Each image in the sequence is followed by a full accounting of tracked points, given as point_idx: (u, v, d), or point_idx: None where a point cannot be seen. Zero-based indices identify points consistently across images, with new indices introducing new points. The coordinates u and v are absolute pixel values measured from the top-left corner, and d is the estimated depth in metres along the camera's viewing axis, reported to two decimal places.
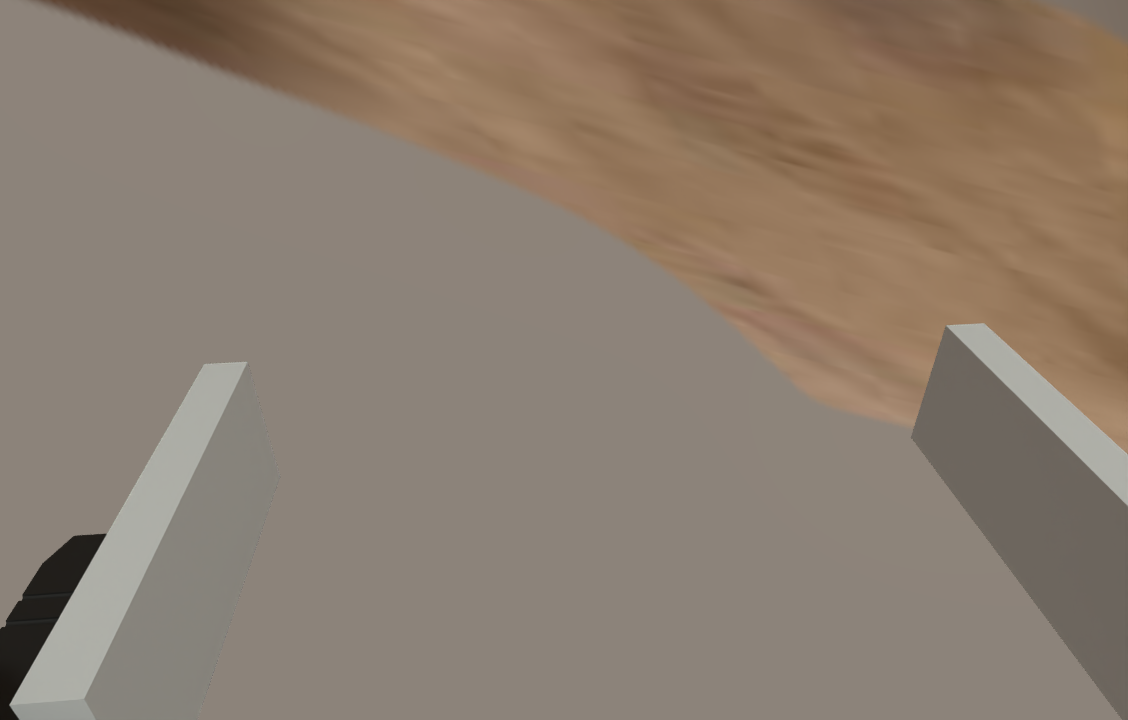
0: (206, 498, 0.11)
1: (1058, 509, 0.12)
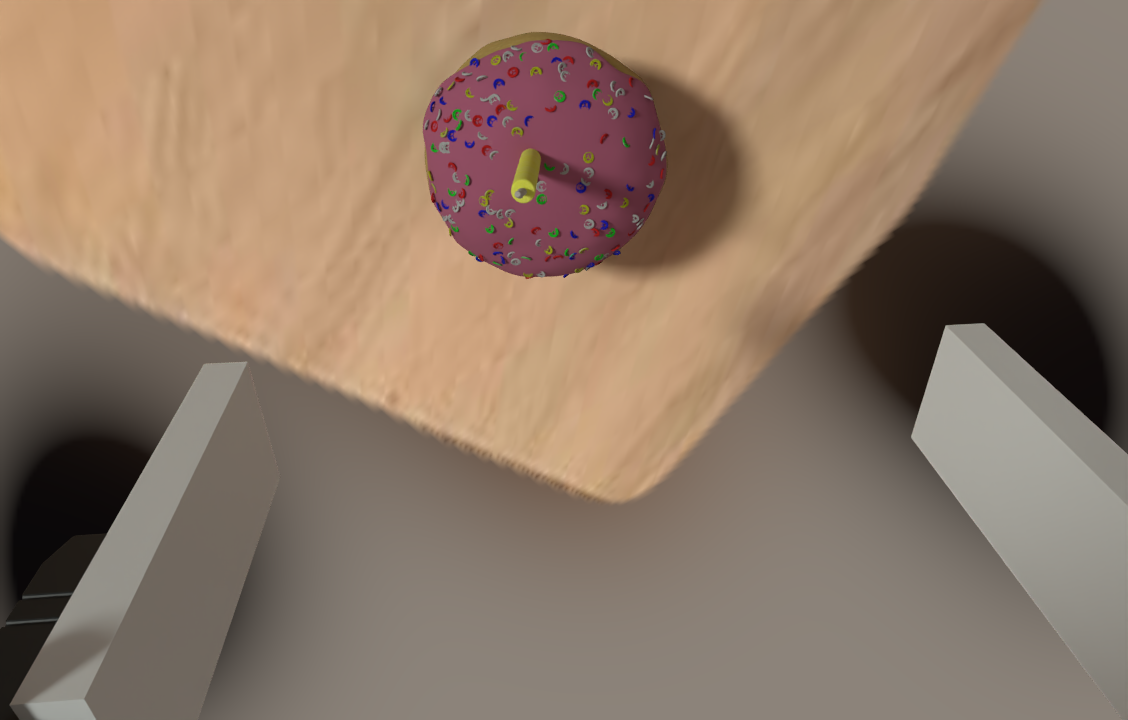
0: (206, 498, 0.11)
1: (1058, 509, 0.12)
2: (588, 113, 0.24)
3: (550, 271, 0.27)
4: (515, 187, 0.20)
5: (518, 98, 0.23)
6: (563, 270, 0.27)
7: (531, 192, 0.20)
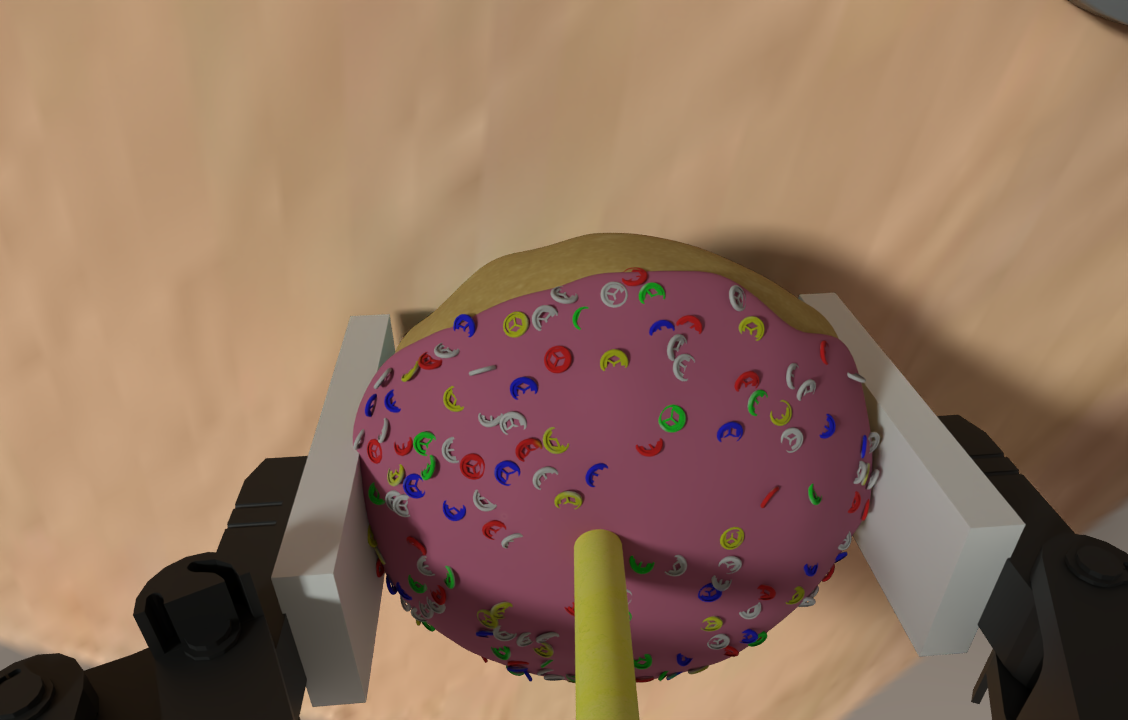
0: None
1: None
2: (737, 449, 0.10)
3: None
4: None
5: (571, 425, 0.10)
6: None
7: None
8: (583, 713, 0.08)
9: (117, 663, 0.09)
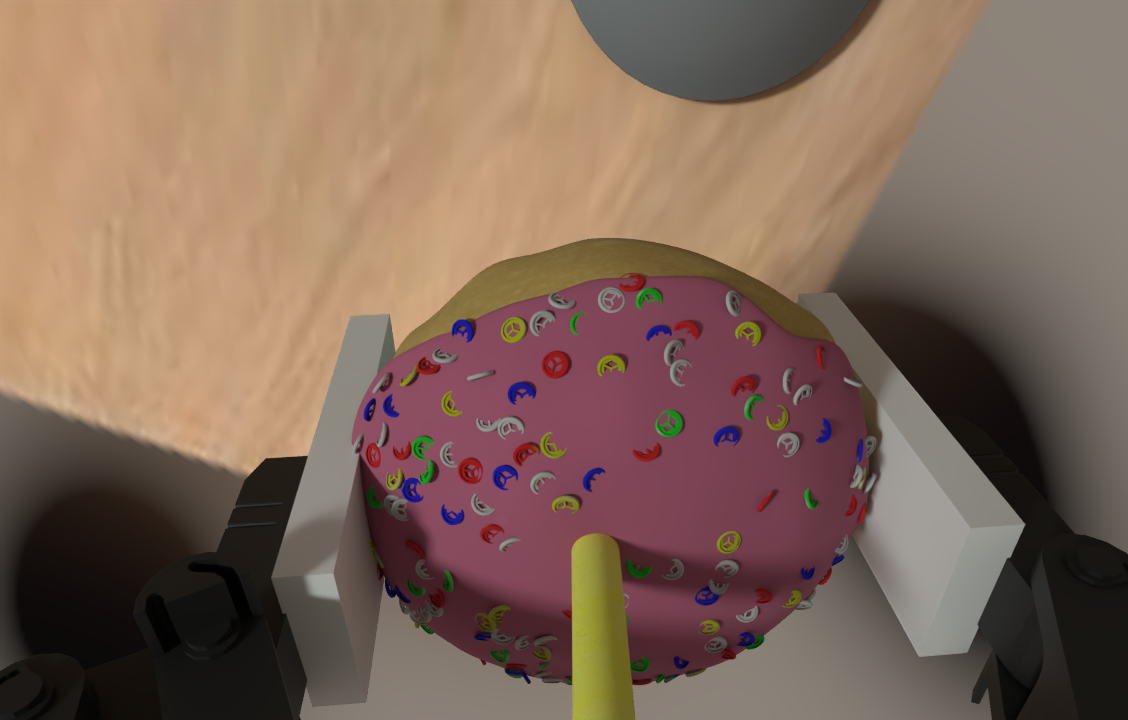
0: None
1: (870, 456, 0.13)
2: (734, 453, 0.10)
3: None
4: None
5: (568, 430, 0.10)
6: None
7: None
8: (579, 717, 0.08)
9: (117, 663, 0.09)
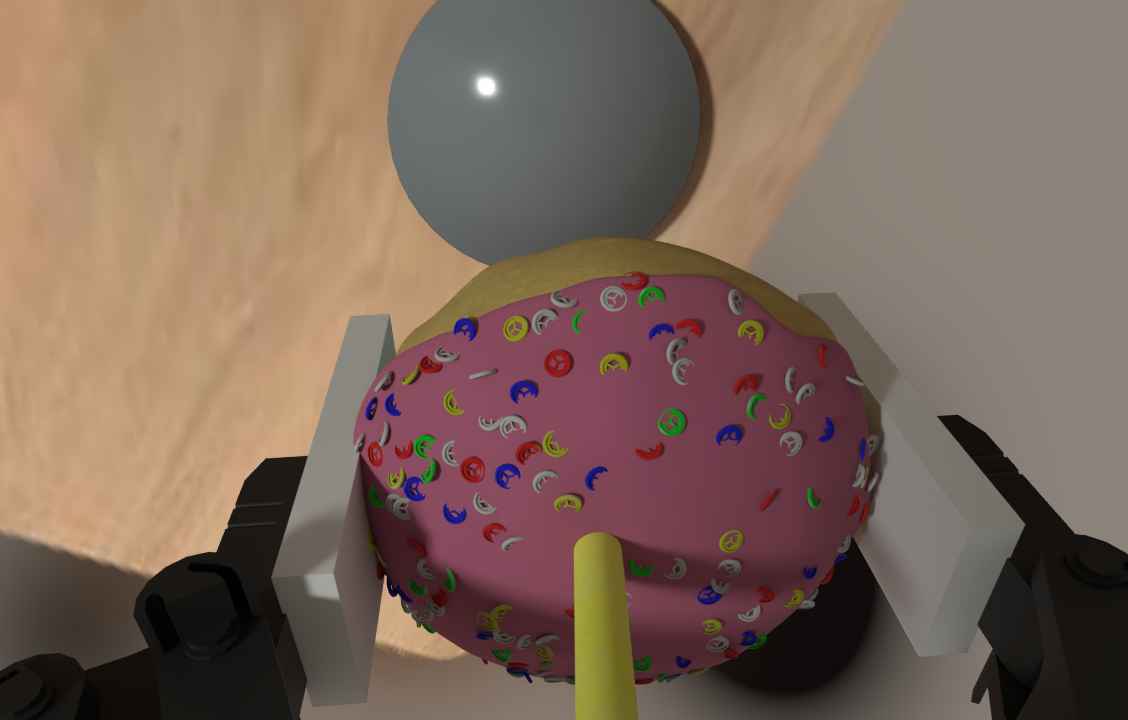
0: None
1: None
2: (737, 452, 0.10)
3: None
4: None
5: (571, 428, 0.10)
6: None
7: None
8: (583, 716, 0.08)
9: (117, 663, 0.09)
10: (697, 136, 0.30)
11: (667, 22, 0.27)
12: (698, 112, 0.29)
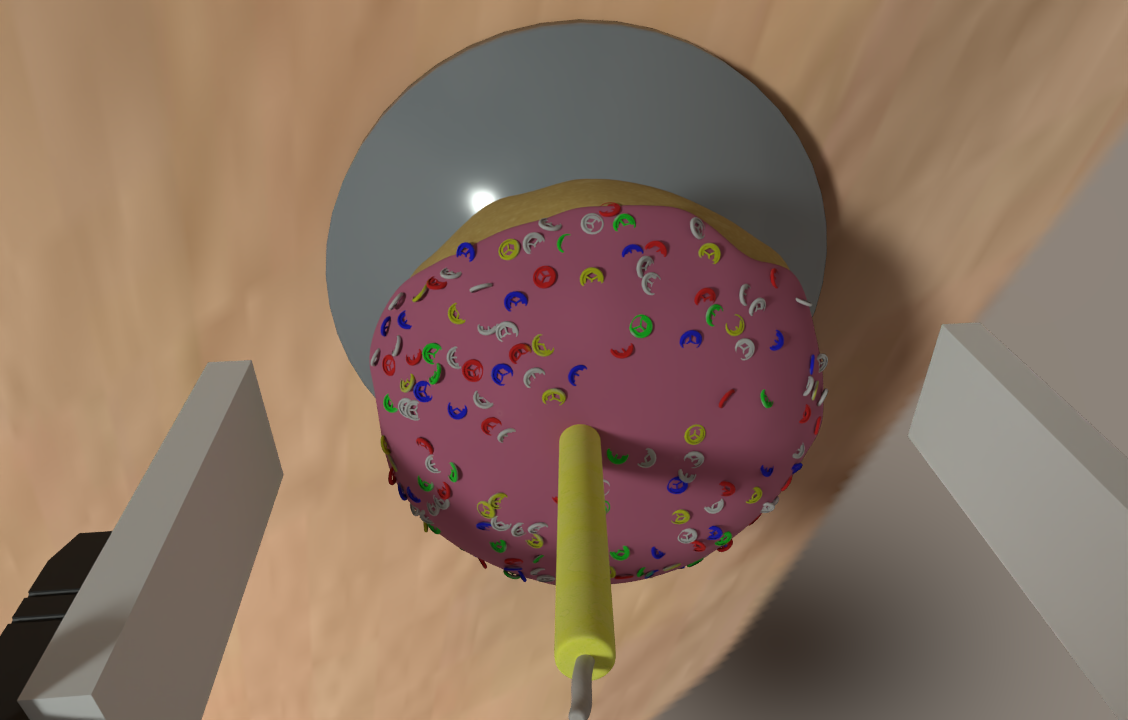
0: (210, 496, 0.11)
1: (1053, 507, 0.12)
2: (697, 354, 0.12)
3: None
4: (566, 652, 0.08)
5: (556, 332, 0.11)
6: (629, 581, 0.15)
7: (606, 664, 0.08)
8: (562, 544, 0.09)
9: None
10: (818, 291, 0.19)
11: (786, 124, 0.16)
12: (823, 257, 0.18)
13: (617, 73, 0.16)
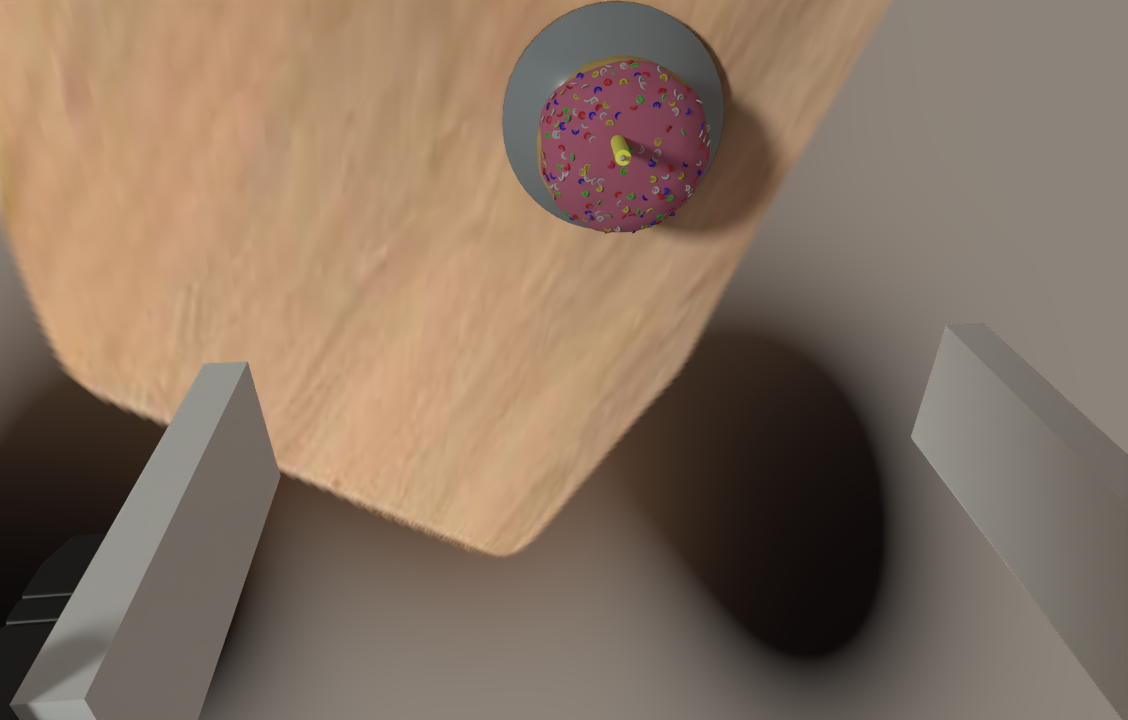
0: (206, 498, 0.11)
1: (1058, 509, 0.12)
2: (659, 111, 0.34)
3: (624, 227, 0.37)
4: (618, 155, 0.30)
5: (611, 100, 0.34)
6: (633, 226, 0.38)
7: (628, 158, 0.30)
8: (615, 147, 0.32)
9: None
10: (721, 129, 0.41)
11: (703, 47, 0.39)
12: (722, 111, 0.41)
13: (633, 22, 0.38)
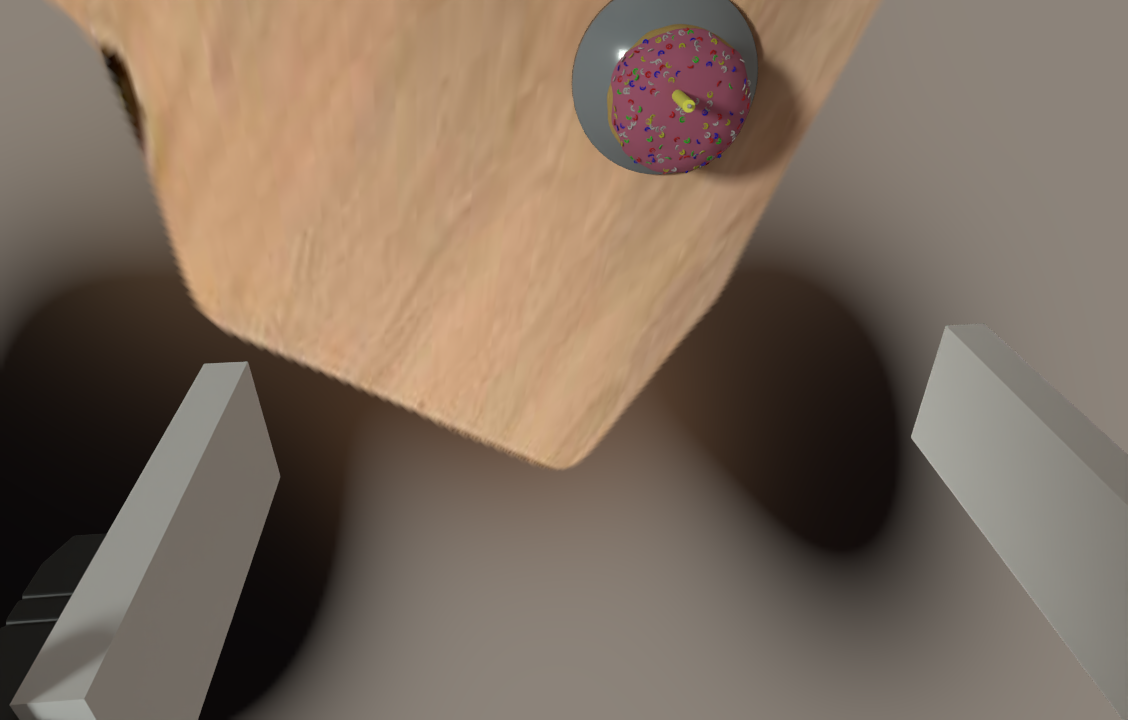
0: (206, 498, 0.11)
1: (1058, 509, 0.12)
2: (711, 69, 0.42)
3: (680, 167, 0.45)
4: (685, 104, 0.38)
5: (672, 61, 0.42)
6: (687, 166, 0.46)
7: (693, 106, 0.38)
8: (679, 98, 0.40)
9: None
10: (755, 85, 0.49)
11: (741, 15, 0.47)
12: (756, 70, 0.48)
13: None
